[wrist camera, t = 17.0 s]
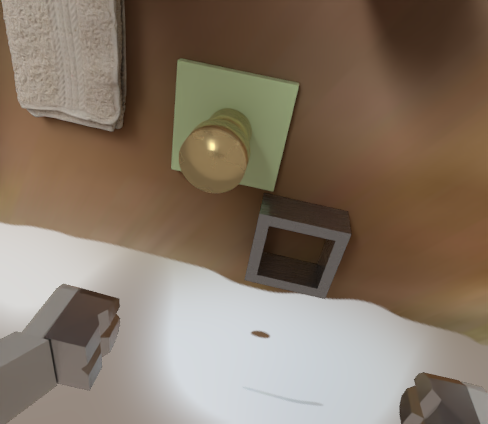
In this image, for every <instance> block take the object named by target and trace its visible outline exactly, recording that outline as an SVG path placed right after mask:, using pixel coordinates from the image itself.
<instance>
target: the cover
mask: <svg viewBox="0 0 488 424" xmlns="http://www.w3.org/2000/svg"><path fill="white" fill-rule="evenodd" d="M251 136H252V128H251V124H250V122H249V120H248V119H247V117H246V116H245V115H244V114H242V113H241V112H240V111H238V110H235V109H231V108H225V109H220V110H218V111H216V112H215V113H214V114H213V115H212V116H211V117H210V118H209V120H206V121H203V122H201V123H200V124H198V125H197V126H196V127H195V128H194V129H193V131H192V132H191V133H190V135H189V136H188V137H187V138H186V140H185V141H184V142H183V144H182V146H181V148H180V151H179V165H180V169H181V171H182V173H183V175H184V176H185V178H186V179H187V180H188V181H189V182H190V183H191V184H192V185H193V186H195V187H196V188H198V189H200V190H202V191H205V192H208V193H224V192H227V191H230V190H232V189H233V188H235V187H236V186H237V185H238V184H239V183H240V182H241V180H242V179H243V176H244V174H245V171H246V168H247V165H248V162H249V159H250V154H251V149H250V144H249V142H250V139H251Z"/></svg>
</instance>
